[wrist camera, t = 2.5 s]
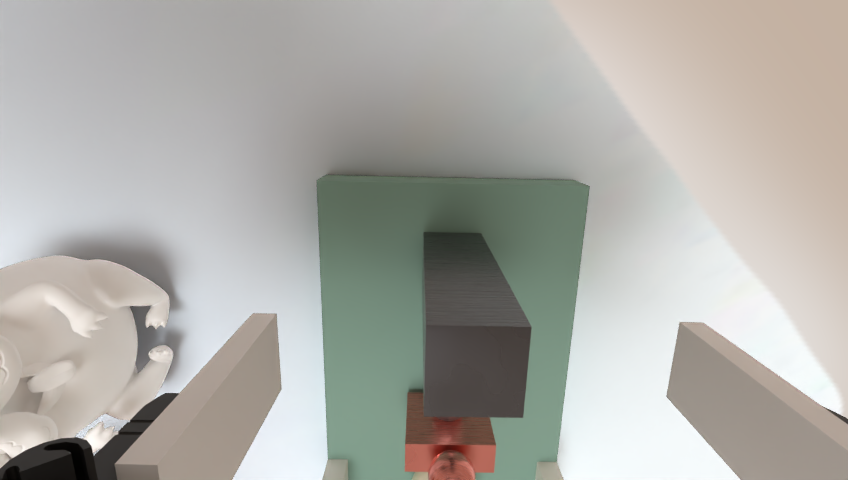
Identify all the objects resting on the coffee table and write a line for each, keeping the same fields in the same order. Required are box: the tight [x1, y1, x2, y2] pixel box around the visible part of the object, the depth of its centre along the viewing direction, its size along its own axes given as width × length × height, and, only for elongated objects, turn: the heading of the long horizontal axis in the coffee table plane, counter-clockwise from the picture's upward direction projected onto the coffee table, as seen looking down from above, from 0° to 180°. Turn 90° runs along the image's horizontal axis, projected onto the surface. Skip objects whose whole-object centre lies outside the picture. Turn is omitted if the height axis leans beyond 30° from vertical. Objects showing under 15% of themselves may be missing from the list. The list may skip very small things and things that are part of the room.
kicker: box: [405, 232, 532, 480], centre depth 19 cm, size 11×4×11 cm, turn 179°
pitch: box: [317, 175, 590, 480], centre depth 28 cm, size 28×14×2 cm, turn 179°
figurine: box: [0, 255, 173, 468], centre depth 21 cm, size 10×10×12 cm
